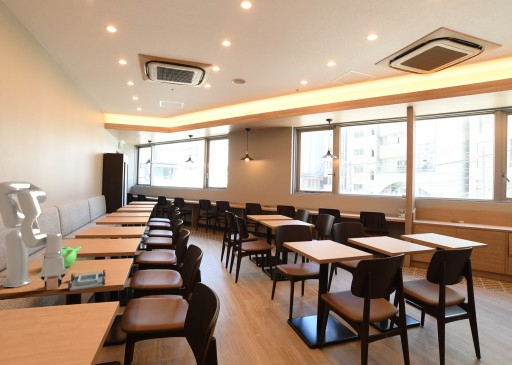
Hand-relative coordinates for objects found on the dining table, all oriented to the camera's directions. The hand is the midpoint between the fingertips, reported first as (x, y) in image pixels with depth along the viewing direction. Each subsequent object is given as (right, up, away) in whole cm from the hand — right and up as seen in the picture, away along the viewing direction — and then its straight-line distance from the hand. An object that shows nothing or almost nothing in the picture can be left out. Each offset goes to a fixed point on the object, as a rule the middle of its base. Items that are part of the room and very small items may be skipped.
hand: (53, 286), depth 155 cm
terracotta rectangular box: (0, -1, 0) cm, 1 cm away
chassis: (+15, -1, +8) cm, 17 cm away
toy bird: (-18, 0, +34) cm, 39 cm away
